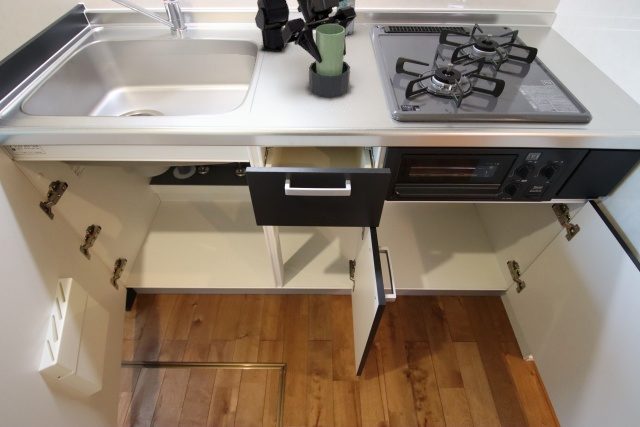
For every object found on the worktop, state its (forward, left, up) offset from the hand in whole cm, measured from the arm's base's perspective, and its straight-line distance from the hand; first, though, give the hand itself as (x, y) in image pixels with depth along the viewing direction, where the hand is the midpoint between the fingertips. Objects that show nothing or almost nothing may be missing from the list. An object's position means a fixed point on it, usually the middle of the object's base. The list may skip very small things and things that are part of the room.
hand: (332, 58), depth 83 cm
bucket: (-1, +1, -8) cm, 8 cm away
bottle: (-3, +39, -8) cm, 40 cm away
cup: (-1, +1, -7) cm, 7 cm away
